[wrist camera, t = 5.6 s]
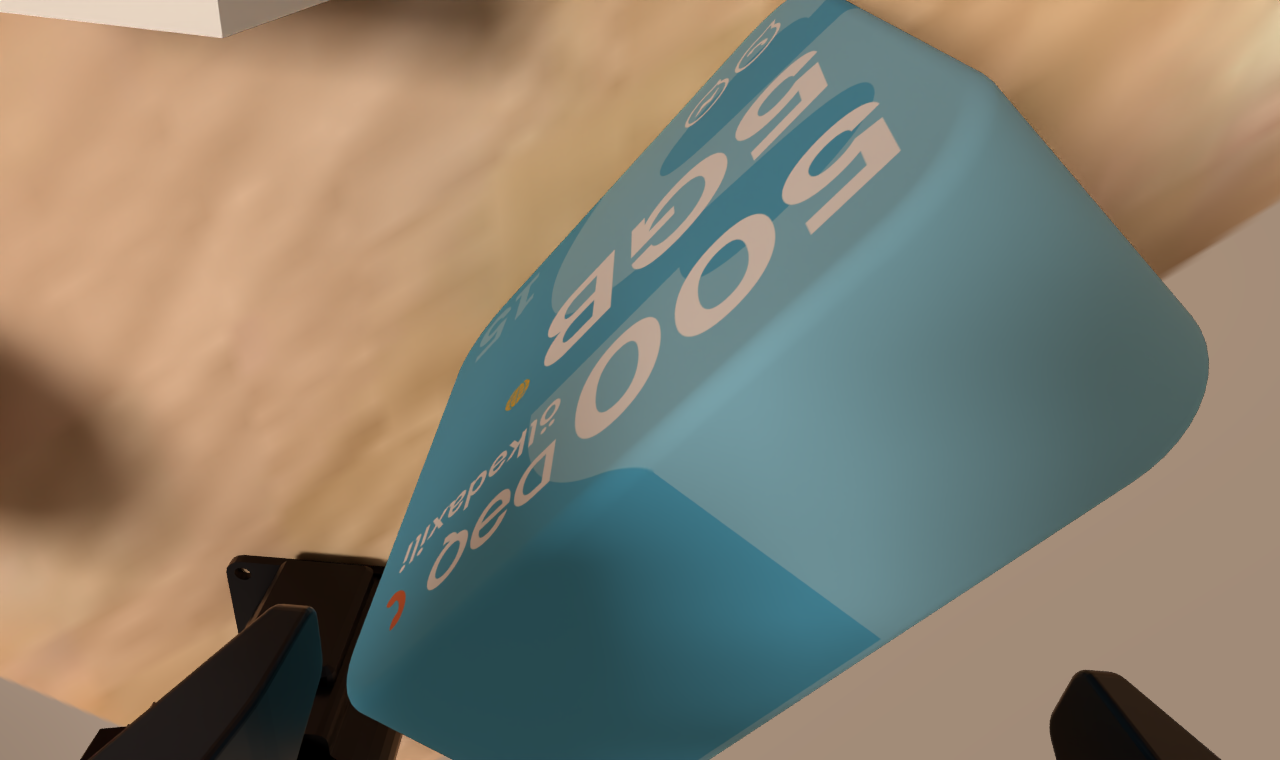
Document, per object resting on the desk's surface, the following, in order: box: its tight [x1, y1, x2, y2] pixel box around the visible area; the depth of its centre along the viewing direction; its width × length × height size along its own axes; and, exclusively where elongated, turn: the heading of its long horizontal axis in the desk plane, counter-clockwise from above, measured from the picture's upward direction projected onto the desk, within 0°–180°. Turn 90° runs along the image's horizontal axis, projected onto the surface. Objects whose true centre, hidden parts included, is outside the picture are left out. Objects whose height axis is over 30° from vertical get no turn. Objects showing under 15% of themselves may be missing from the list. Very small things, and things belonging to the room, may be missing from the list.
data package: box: [347, 0, 1209, 760], centre depth 15 cm, size 12×4×12 cm, turn 138°
